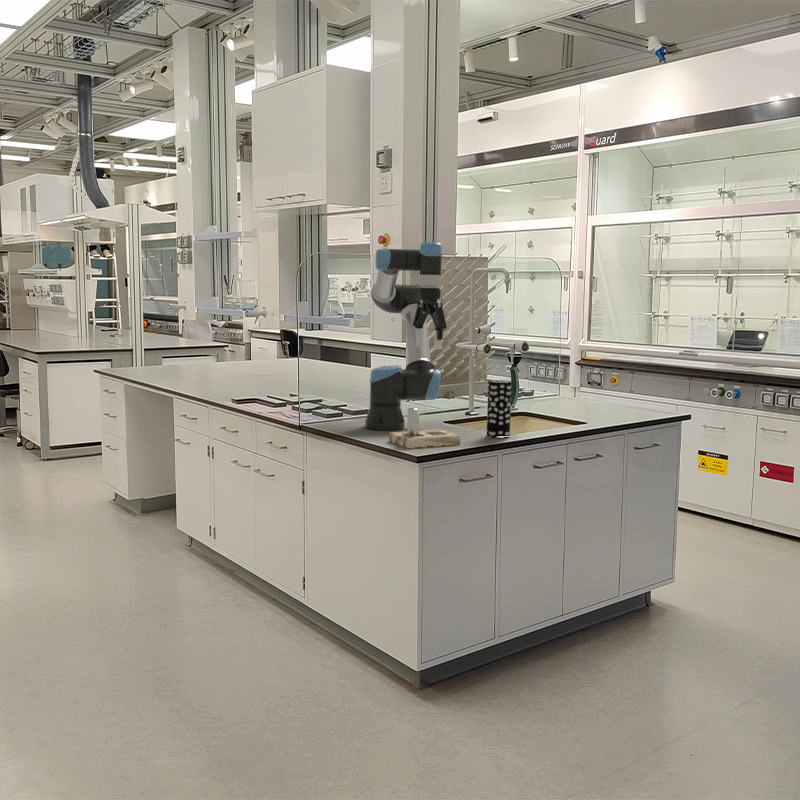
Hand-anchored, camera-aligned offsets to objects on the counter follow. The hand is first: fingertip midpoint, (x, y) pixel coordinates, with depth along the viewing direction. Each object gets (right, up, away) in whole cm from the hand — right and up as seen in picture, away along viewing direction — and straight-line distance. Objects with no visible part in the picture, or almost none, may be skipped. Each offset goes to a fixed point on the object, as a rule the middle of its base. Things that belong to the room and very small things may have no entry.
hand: (428, 348), depth 280 cm
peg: (-6, -33, -11) cm, 35 cm away
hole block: (-2, -33, -9) cm, 34 cm away
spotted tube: (+25, -32, +6) cm, 41 cm away
